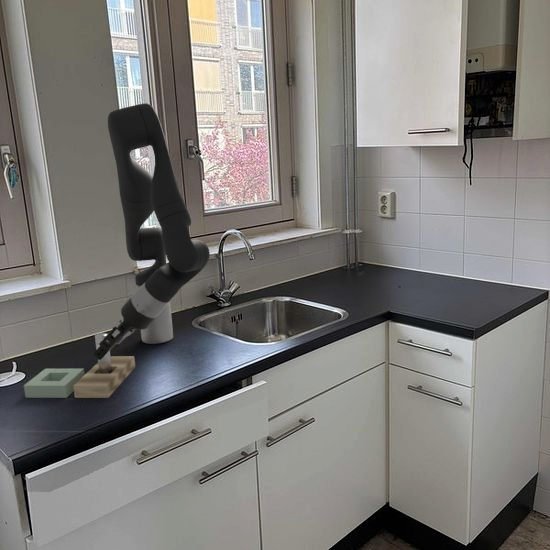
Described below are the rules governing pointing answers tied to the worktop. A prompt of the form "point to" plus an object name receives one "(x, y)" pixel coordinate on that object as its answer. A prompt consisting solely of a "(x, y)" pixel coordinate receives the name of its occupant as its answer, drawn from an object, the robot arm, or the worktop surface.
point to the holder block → (53, 383)
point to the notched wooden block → (104, 379)
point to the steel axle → (105, 362)
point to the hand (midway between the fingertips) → (105, 350)
